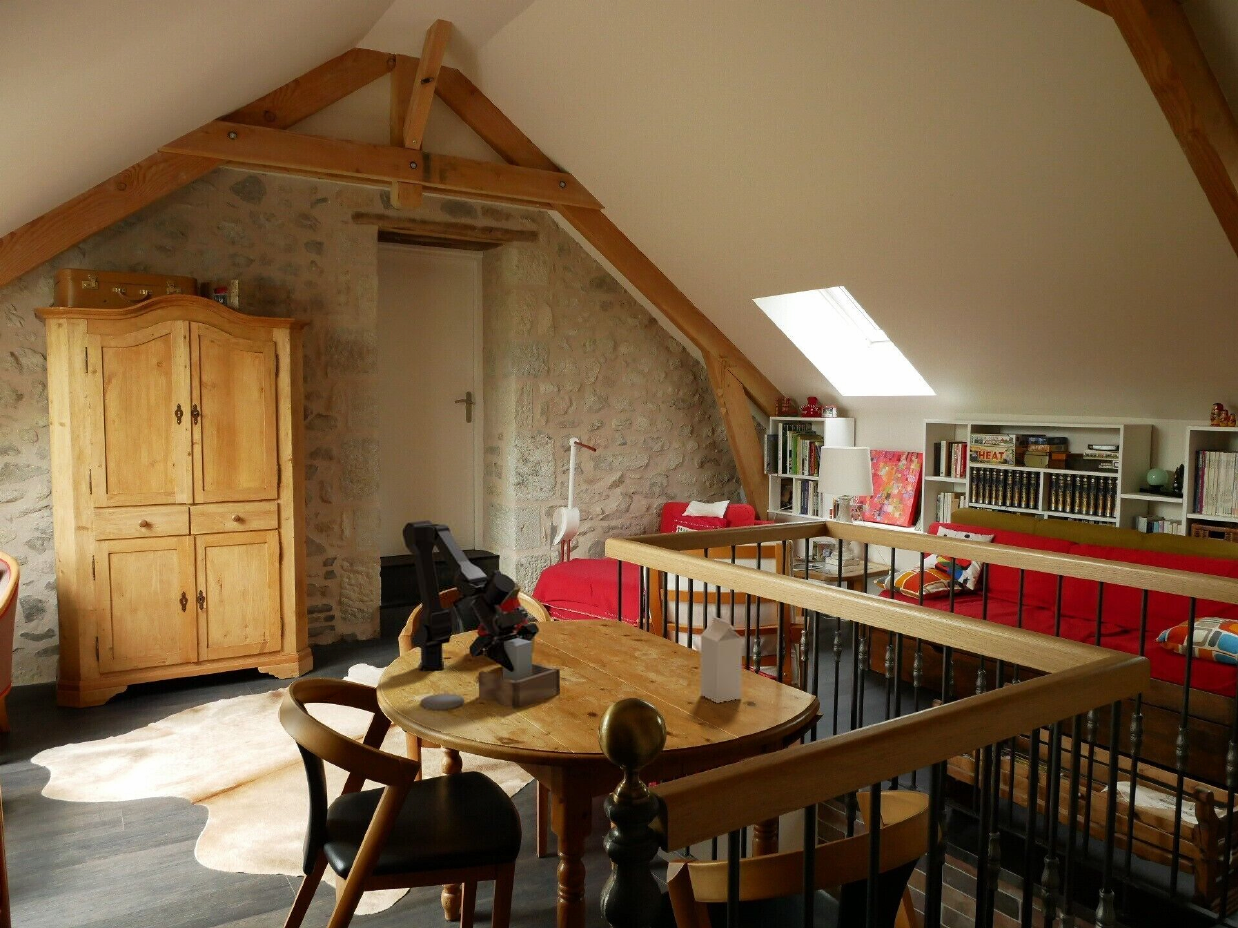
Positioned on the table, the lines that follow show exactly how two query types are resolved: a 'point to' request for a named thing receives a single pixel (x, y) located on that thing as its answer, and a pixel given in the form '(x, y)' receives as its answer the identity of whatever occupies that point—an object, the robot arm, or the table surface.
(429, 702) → the mat
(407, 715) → the table surface
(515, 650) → the block
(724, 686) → the milk carton
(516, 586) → the bottle
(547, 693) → the crate
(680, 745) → the table surface
